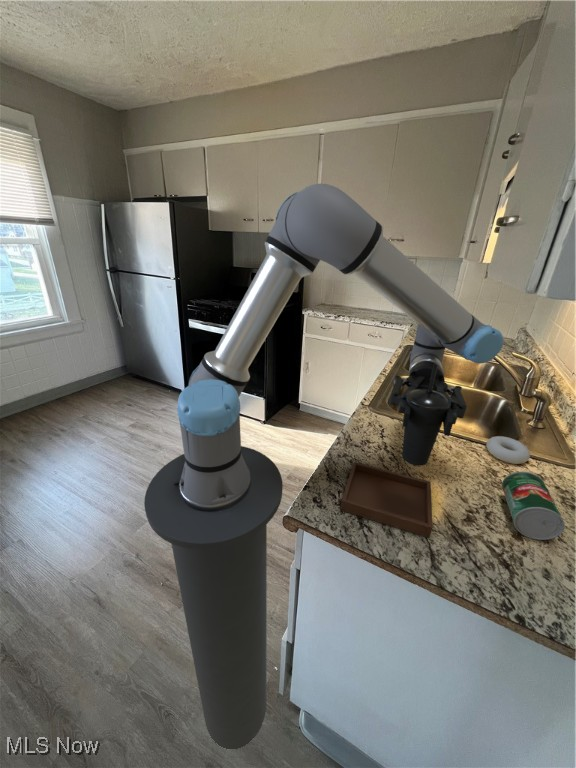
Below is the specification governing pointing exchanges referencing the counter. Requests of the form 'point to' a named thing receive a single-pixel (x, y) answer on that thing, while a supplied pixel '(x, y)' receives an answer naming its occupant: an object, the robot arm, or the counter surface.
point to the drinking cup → (423, 422)
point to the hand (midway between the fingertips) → (427, 424)
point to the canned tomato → (532, 506)
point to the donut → (508, 450)
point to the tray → (389, 498)
